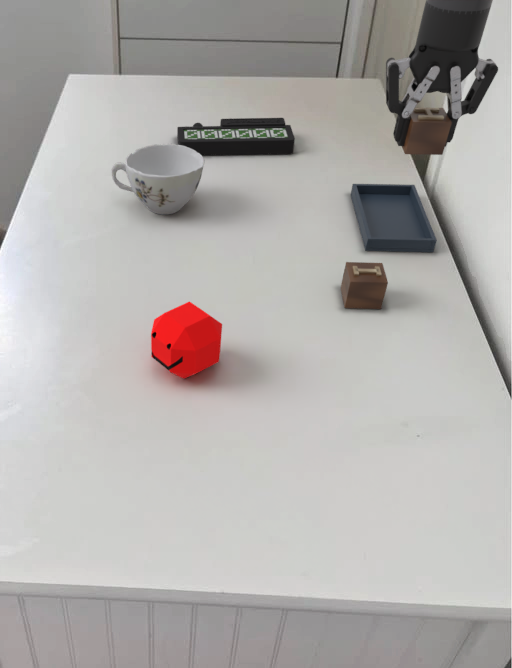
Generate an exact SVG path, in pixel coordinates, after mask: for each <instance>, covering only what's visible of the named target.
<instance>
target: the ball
mask: <svg viewBox="0 0 512 668" xmlns="http://www.w3.org/2000/svg"><path fill="white" fill-rule="evenodd" d="M152 323H153V324H152V328H151V332H150V350H151V355H150V356H151V358H152V359H153V360H155V361H156V362H157V363H159V364H160V365H161V366H162V367H164V368H165V369H166V370H168V372H169V373H171V374H173V375H175V376H177V377H179V378H181V379H184V380H185V379H187V378H188V377H191V376H194V375H196V374H197V373H200V372H202V371H203V370H206V369H208V368H211V366H213V365H215V364H218V363H220V356H221V349H222V348H221V346H222V334H223V333H222V332H223V323H222V322H220V321H218V320H217V319H215V318H214V317H213V316H212V315H210V314H208V313H207V312H206V311H204V310H203V309H201V308H200V307H199V306H197V305H196V304H194V303H192V302H191V301H187V302H185V303H183V304H181V305H179V306H177V307H174V308H172V309H170V310H167V311H166V312H164V313H162V314H160V315H159V316H158V317H156V318H154V319H153V322H152Z"/></svg>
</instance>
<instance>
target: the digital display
mask: <svg viewBox="0 0 512 668" xmlns="http://www.w3.org/2000/svg"><path fill="white" fill-rule="evenodd" d="M176 127H177V128H176V129H177V132H176V133H177V134H176V135H177V136H176V137H177V139H176V140H177V145H182V146H186V147H188V148H191V149H193V150H195V151H196V152H197V153H200V154H201V155H202V157H203V156H204V157H206V156H207V157H208V156H209V157H211V156H212V157H213V156H261V155H264V156H265V155H269V156H270V155H292V154H293V153H294V147H295V140H296V138H295V135H294V131H293V129H292V126H291V124H286V121H285V118H284V117H244V118H242V117H240V118H239V117H238V118H221V119H220V125H204V124H202V123H200V122H195V123H194V124H193V125H192V126H176Z"/></svg>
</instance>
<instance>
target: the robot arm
mask: <svg viewBox="0 0 512 668" xmlns="http://www.w3.org/2000/svg"><path fill="white" fill-rule="evenodd" d="M424 2H425V3H424V7H423V11H422V16H421V20H420V24H419V28H418V32H417V37H416V41H415V44H414V48H413V49H412V51H411V52H410V54H409V55H408V56H407V57H402V58H399V59H395V58H394V57H389V58H388V59H387V60H386V62H385V104H386V106H387V108H388V110H389V112H390V113H391V114H396V115H397V116H396V120H395V126H394V129H393V138H394V141H395V142H396V144H397V146H398V147H402V146H404V144H405V140H406V136H407V132H408V128H409V124H410V120H411V118H410V115H411V114H412V112H413V110H414V109H415V107H417V106H418V104H419V103H421V102H422V100H423V98H424V97H425V96H426V94H431V93H435V92H439V93H441V94H446V101H447V112H446V113H447V115H448V117H449V119H450V120H451V122H452V124H451V127H450V130H449V134H448V137H447V141H446V144H445V148H446V147H447V145H448V143H451V142H452V140H453V139H454V135H455V132H456V129H457V124H458V121H459V119H460V118H461V117H462V116H464V115H467V114H468V115H473V114H475V113H476V112H477V110H478V109H479V107H480V105H481V103H482V102H483V99H484V98H485V97H486V96H485V95H486V94H487V93H488V90H489V88H490V86H491V85H492V83H493V82H494V79H495V77H496V76H497V74H498V72H499V67H498V65H497V63H496V62H495V61H494V60H493V59H492V58H486V59H483V58H480V57H479V47H480V45H481V42H482V40H483V39H482V38H483V35H484V32H485V30H486V25H487V22H488V18H489V15H490V11H491V8H492V4H493V2H494V0H425V1H424ZM409 68H410V71H411V74H412V76H413V78H412V80H411V82H410V83H409V85H408V86H407V88H406V93H405V95H404V96H403V98H402V100H400V79H403V78H404V76H405V73H406V71H407V69H409ZM474 70H475V71H474ZM473 71H474V81H473V82H472V84H471V86H470V88H469V90H468V92H467V94H466V96H465V97H464V99H463V100H462V98H463V96H462V95H463V94H462V82H464V81H465V79H467V77H468V76H469V75H470V74H471V73H472V72H473Z"/></svg>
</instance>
